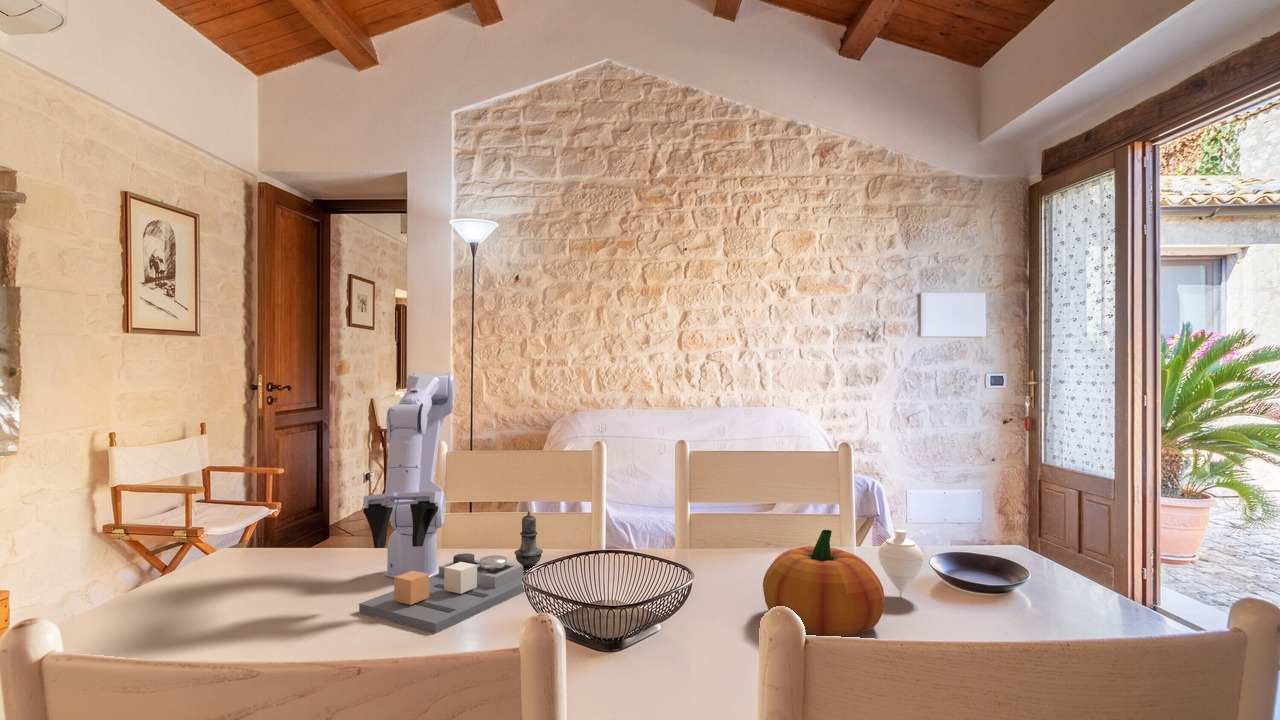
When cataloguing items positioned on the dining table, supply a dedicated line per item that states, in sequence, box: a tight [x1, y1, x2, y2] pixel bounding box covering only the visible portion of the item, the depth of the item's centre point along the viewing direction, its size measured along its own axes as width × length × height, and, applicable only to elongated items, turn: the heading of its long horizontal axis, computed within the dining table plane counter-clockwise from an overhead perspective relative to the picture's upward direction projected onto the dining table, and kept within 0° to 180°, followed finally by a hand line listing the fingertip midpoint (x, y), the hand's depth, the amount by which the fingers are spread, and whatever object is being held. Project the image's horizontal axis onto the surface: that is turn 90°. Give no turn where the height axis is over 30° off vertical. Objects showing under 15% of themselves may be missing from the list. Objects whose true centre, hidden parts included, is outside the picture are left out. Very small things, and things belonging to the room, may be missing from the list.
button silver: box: [479, 554, 508, 571], centre depth 121 cm, size 5×5×2 cm
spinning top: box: [878, 529, 924, 597], centre depth 116 cm, size 8×8×12 cm
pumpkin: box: [762, 529, 885, 637], centre depth 104 cm, size 19×19×15 cm
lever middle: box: [444, 562, 477, 594], centre depth 114 cm, size 4×4×4 cm
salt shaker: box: [513, 511, 544, 574], centre depth 132 cm, size 6×6×12 cm
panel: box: [358, 559, 525, 634], centre depth 114 cm, size 18×26×4 cm
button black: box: [452, 552, 475, 564], centre depth 124 cm, size 4×4×1 cm
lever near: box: [393, 571, 429, 605], centre depth 108 cm, size 4×4×4 cm
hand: (398, 547), depth 111 cm, fingers open, 7 cm apart
